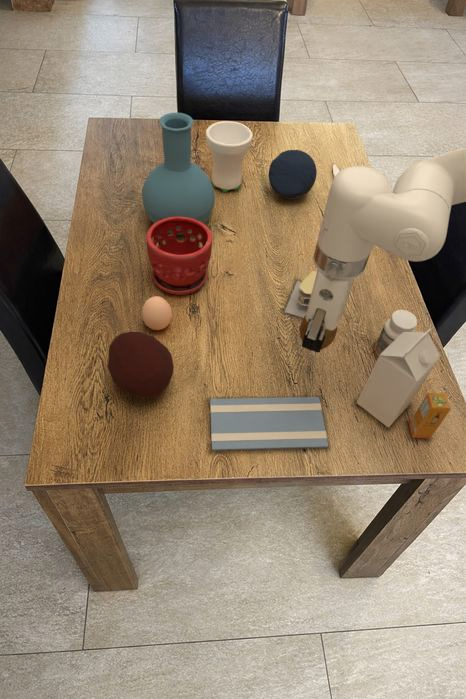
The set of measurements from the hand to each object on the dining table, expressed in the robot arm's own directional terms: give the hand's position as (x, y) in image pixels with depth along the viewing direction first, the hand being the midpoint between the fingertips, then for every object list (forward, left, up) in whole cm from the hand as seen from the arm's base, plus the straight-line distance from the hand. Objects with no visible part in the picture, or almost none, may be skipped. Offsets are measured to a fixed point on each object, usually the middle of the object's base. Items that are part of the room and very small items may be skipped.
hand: (317, 333), depth 85 cm
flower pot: (+33, -13, -13) cm, 38 cm away
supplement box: (-22, +2, -13) cm, 26 cm away
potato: (+27, +14, -13) cm, 33 cm away
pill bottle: (-13, -13, -13) cm, 23 cm away
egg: (+31, +1, -13) cm, 33 cm away
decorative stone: (+22, -53, -13) cm, 59 cm away
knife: (+7, -57, -13) cm, 59 cm away
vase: (+42, -30, -13) cm, 53 cm away
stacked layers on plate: (+5, -19, -13) cm, 23 cm away
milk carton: (-15, 0, -13) cm, 20 cm away
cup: (+38, -49, -13) cm, 63 cm away
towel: (+3, +13, -13) cm, 18 cm away
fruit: (0, 0, -3) cm, 3 cm away
